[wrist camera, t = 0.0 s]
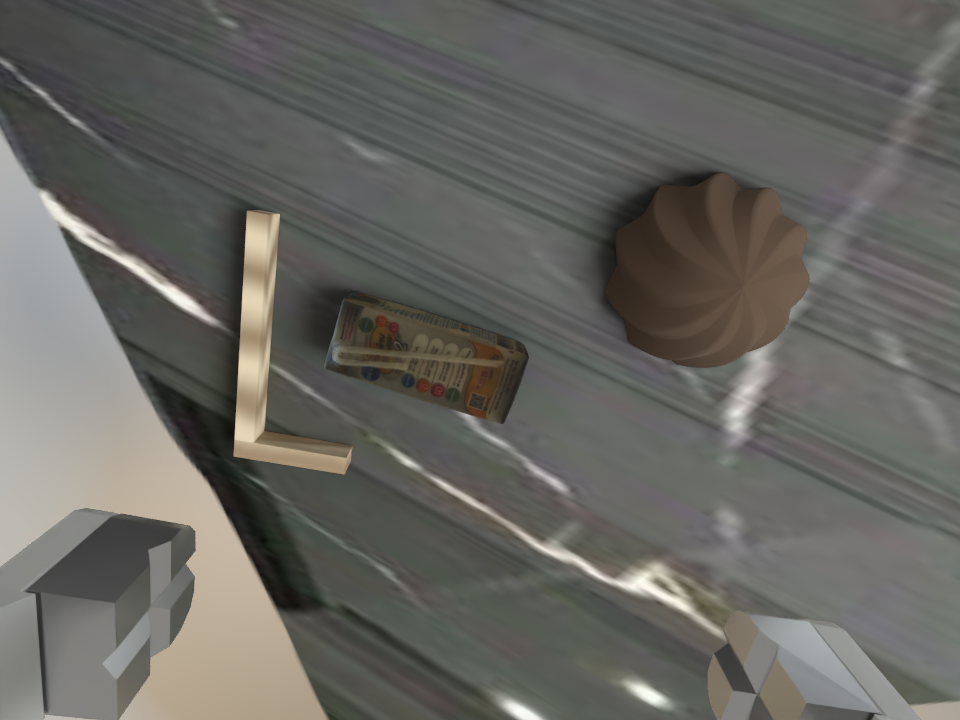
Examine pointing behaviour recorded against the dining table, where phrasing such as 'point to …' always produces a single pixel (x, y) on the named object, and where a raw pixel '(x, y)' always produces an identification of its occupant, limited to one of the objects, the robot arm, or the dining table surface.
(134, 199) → the dining table surface
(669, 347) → the decorative dome
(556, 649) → the dining table surface
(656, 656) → the dining table surface
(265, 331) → the oak fence
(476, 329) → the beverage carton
